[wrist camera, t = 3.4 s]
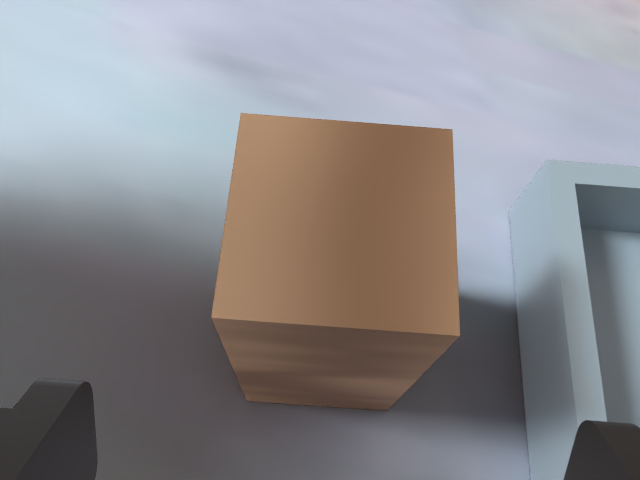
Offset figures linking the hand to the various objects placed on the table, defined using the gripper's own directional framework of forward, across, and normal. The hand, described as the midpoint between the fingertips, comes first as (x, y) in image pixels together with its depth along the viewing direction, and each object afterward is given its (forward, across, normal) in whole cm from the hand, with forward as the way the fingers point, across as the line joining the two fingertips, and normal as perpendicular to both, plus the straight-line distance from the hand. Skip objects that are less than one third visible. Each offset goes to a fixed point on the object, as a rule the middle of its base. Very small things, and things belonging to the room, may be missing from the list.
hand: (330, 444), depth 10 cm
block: (+9, 0, +3) cm, 10 cm away
